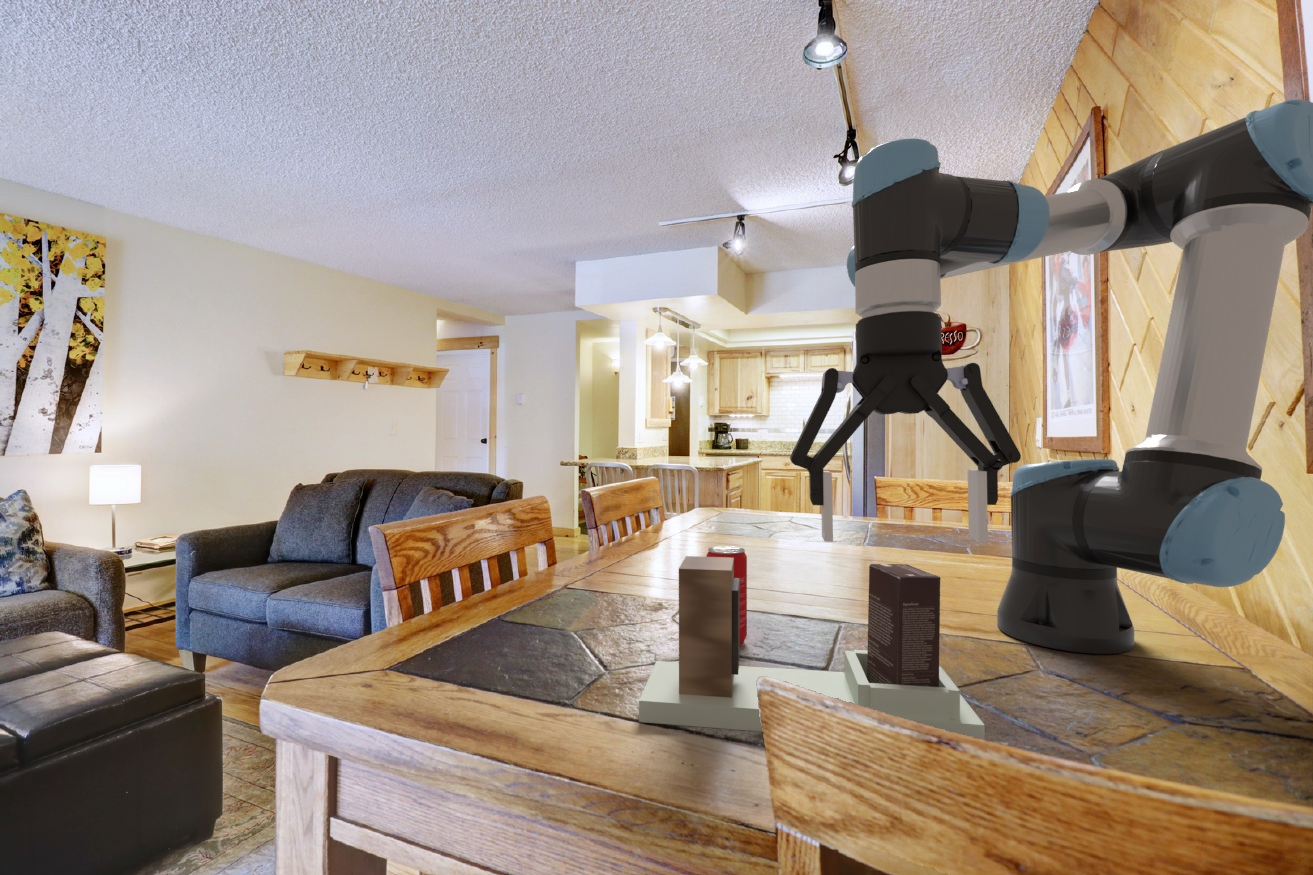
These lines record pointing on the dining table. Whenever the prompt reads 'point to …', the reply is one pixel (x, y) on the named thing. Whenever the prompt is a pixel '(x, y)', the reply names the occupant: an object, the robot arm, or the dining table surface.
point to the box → (903, 626)
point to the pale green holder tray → (851, 686)
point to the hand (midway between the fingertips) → (901, 540)
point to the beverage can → (739, 572)
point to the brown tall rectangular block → (708, 626)
